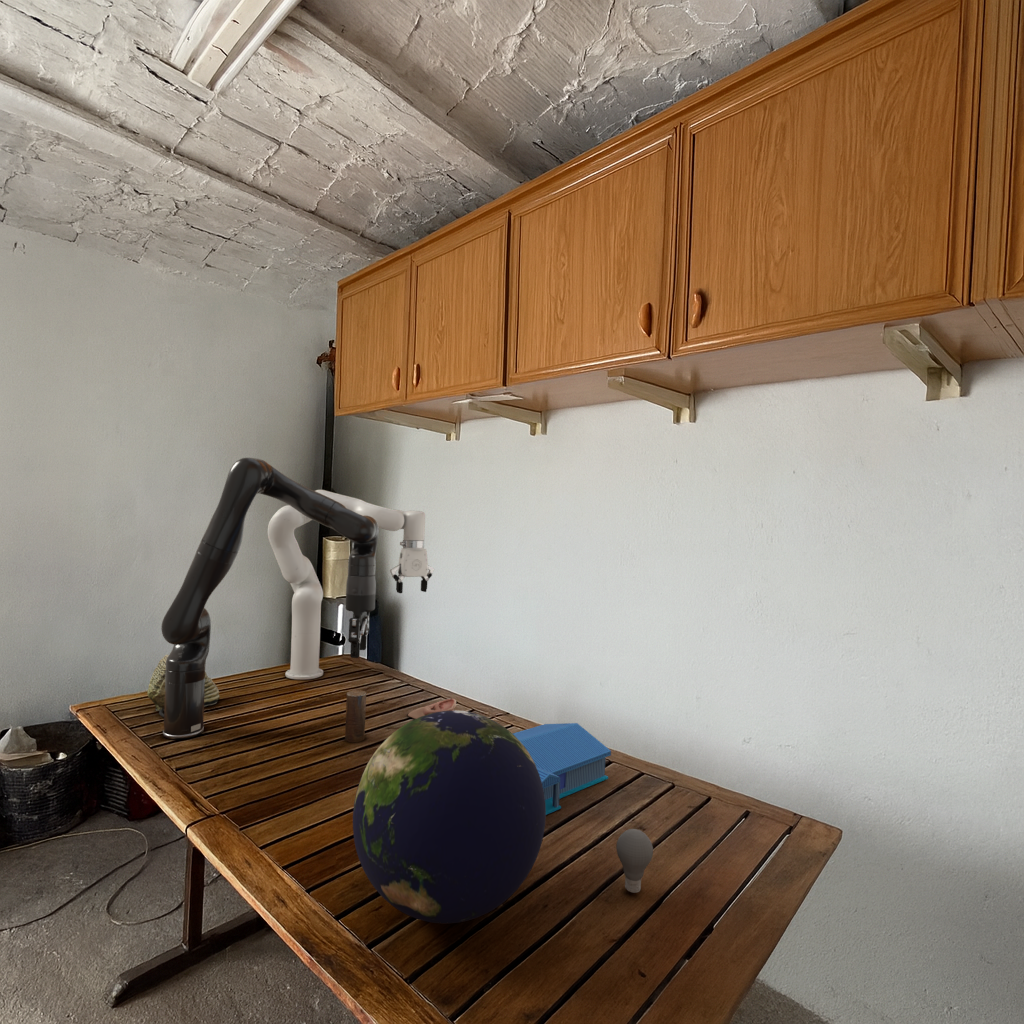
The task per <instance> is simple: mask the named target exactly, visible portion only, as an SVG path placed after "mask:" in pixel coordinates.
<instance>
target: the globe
mask: <svg viewBox="0 0 1024 1024" xmlns="http://www.w3.org/2000/svg"><path fill="white" fill-rule="evenodd" d="M546 816H547V815H546V806H545V796H544V791H543V786H542V782H541V779H540V775H539V773H538V770H537V768H536V765H535V763H534V761H533V759H532V757H531V756H530V754H529V752H528V751H527V749H526V748H525V747H524V746H523V744H522V743H521V742H520V741H519V740H518V739H517V738H516V737H515V736H514V735H513V732H511V730H509V729H507V728H506V727H505V726H503V725H502V724H500V723H498V722H497V721H495V720H493V719H492V718H489V717H487V716H485V715H481V714H479V713H476V712H471V711H467V710H458V709H457V710H454V711H441V712H435V713H431V714H428V715H424V716H421V717H419V718H417V719H415V718H413V720H410V721H409V722H407V723H405V724H404V725H402V726H400V727H399V728H398V729H397V730H395V731H394V732H392V734H390V735H389V736H388V737H386V739H385V740H384V741H383V742H382V743H381V744H380V745H379V746H378V747H377V749H376V750H375V752H374V753H373V755H372V756H371V757H370V759H369V761H368V762H367V764H366V766H365V768H364V771H363V772H362V775H361V777H360V780H359V783H358V786H357V789H356V793H355V797H354V803H353V808H352V831H353V841H354V845H355V846H354V847H355V851H356V855H357V856H358V860H359V863H360V866H361V868H362V870H363V872H364V874H365V876H366V877H367V878H368V881H369V882H370V884H371V885H372V887H373V888H374V889H375V890H376V891H377V893H378V895H380V896H381V897H382V898H383V899H384V900H385V901H386V902H387V903H388V904H389V905H391V906H392V907H394V908H395V909H396V910H398V911H399V912H401V913H403V914H404V915H407V916H409V917H411V918H414V919H416V920H419V921H423V922H427V923H432V924H441V925H443V924H447V925H448V924H458V923H463V922H468V921H471V920H474V919H478V918H480V917H482V916H484V915H487V914H489V913H490V912H492V911H494V910H495V909H497V908H498V907H500V906H501V905H503V904H504V903H505V902H506V901H507V900H508V899H509V898H511V897H512V896H513V895H514V894H515V892H516V891H517V890H519V888H520V887H521V886H522V884H523V883H524V882H525V880H526V879H527V877H528V876H529V874H530V872H531V870H532V869H533V867H534V865H535V863H536V860H537V858H538V856H539V853H540V850H541V847H542V844H543V839H544V834H545V830H546V829H545V828H546V818H547V817H546Z"/></svg>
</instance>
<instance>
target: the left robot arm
mask: <svg viewBox="0 0 1024 1024" xmlns="http://www.w3.org/2000/svg"><path fill="white" fill-rule="evenodd" d="M258 494H259V495H264V496H267V497H270V498H273V499H275V500H278V501H281V502H283V503H285V504H286V505H290V506H291V507H293V508H294V509H296V510H297V511H299V512H300V513H302V514H303V515H305V516H307V517H308V518H310V519H312V520H311V521H315V522H317V523H318V524H321V525H322V526H325V527H327V528H328V529H329V528H330V529H331V530H333V531H334V532H336V533H338V534H339V535H340V536H343V537H345V538H346V539H348V540H350V541H351V551H350V554H349V555H348V561H347V563H348V564H347V578H346V585H345V608H344V609H345V610H346V611H347V612H351V613H352V617H350V618H349V620H348V622H349V624H348V638H347V641H348V643H349V644H350V652H349V653H350V654H349V656H350V658H352V659H359V657H360V654H361V651H365V650H367V640H368V639H367V638H368V637H367V636H368V634H369V632H370V617H371V615H370V613H371V612H373V611H375V609H376V593H377V592H376V591H377V581H376V580H377V579H376V569H377V567H376V566H377V564H376V563H377V562H376V558H377V557H376V555H377V549H378V543H379V536H380V533H379V532H380V528H379V527H378V524H377V522H376V520H375V519H374V518H372V517H370V516H362V515H360V514H358V513H355V512H353V511H351V510H349V509H347V508H346V507H345V506H344V505H342V504H341V503H339V502H337V501H335V500H333V499H331V498H329V497H327V496H325V495H322V494H320V493H318V492H316V491H315V490H313V489H311V488H309V487H307V486H305V485H303V484H301V483H299V482H296V481H295V480H293V479H292V478H290V477H289V476H286V475H285V474H283V473H282V472H281V471H280V470H278V469H276V468H275V467H274V466H272V465H271V464H269V463H268V462H267V461H265V460H264V459H260V458H256V457H242V458H240V459H238V460H236V461H235V462H234V463H233V464H232V465H231V466H230V468H229V471H228V474H227V477H226V480H225V483H224V487H223V490H222V492H221V496H220V498H219V501H218V503H217V506H216V508H215V510H214V512H213V514H212V515H211V519H210V521H209V523H208V525H207V527H206V529H205V532H204V533H203V535H202V538H201V540H200V542H199V545H198V546H197V549H196V551H195V553H194V556H193V559H192V561H191V563H190V566H189V568H188V569H187V572H186V575H185V578H184V580H183V582H182V584H181V587H180V588H179V590H178V592H177V594H176V596H175V598H174V599H173V601H172V603H171V604H170V606H169V608H168V609H167V611H166V613H165V615H164V617H163V618H162V621H161V627H160V629H161V630H160V631H161V634H162V638H163V639H164V640H165V641H166V642H167V643H169V644H171V645H173V647H172V649H171V651H170V653H169V654H168V655H169V656H168V657H167V659H166V674H165V705H164V708H163V709H161V710H160V711H159V710H158V714H159V715H160V717H162V718H163V730H162V737H164V738H166V739H169V740H185V739H190V738H191V739H192V738H194V737H197V736H199V735H202V734H203V732H204V730H205V729H204V727H205V725H204V722H205V721H204V718H205V706H204V693H205V672H206V664H207V663H206V662H207V658H208V655H209V653H210V646H211V645H210V643H211V633H212V631H211V630H212V621H211V616H210V613H209V611H208V610H207V608H205V607H206V604H207V603H208V600H209V598H210V597H211V595H212V594H213V593H214V592H215V590H216V589H217V587H218V586H219V585H220V583H221V582H222V581H223V580H224V578H225V577H226V576H227V575H228V573H229V571H230V570H231V568H232V566H233V564H234V562H235V560H236V558H237V556H238V553H239V551H240V548H241V546H242V542H243V538H244V537H243V536H244V530H245V529H244V528H245V521H246V517H247V513H248V511H249V509H250V507H251V505H252V504H253V501H254V499H255V497H256V496H257V495H258ZM354 636H356V637H354Z"/></svg>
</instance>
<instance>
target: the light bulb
mask: <svg viewBox="0 0 1024 1024" xmlns="http://www.w3.org/2000/svg"><path fill="white" fill-rule="evenodd" d="M615 849H616V854H617V857H618V859H619V861H620V863H621V865H622V867H623V873H624V874H623V875H624V876H625V878H624V888H625V890H627V891H628V892H630V893H634V894H635V893H639V892H640V891H641V889H642V887H641V886H642V879H643V877H644V875H645V871H646V868H647V867H648V866H649V864H650V863H651V861H652V859H653V855H654V847H653V843H652V841H651V838H649V836H648V835H647V834H646V833H645V832H643V831H642V830H641V829H636V828H629V829H627V830H625V831H623V832H622V833H621V834H620V835H619V837H618V839H617V841H616V847H615Z"/></svg>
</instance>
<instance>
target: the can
mask: <svg viewBox="0 0 1024 1024" xmlns="http://www.w3.org/2000/svg"><path fill="white" fill-rule="evenodd" d="M366 709H367V691H365V690H359V689H354V690H350V691H349V690H348V691H347V692H346V703H345V729H344V740H345V742H348V743H359V742H362V741H364V740H365V735H366V733H365V732H366V711H367V710H366Z"/></svg>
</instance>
